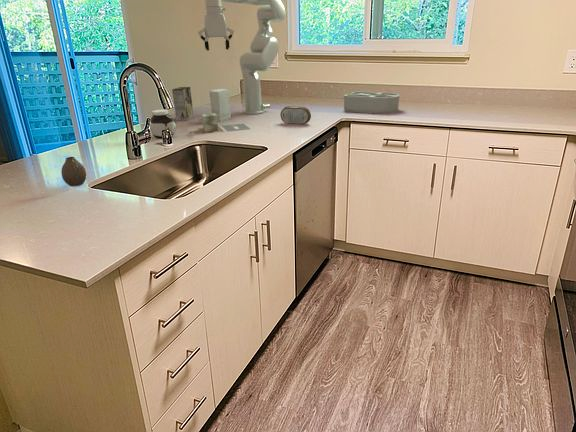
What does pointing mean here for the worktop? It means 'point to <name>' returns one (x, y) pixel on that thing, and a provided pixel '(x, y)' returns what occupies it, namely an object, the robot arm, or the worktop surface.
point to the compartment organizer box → (371, 102)
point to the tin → (295, 115)
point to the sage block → (210, 122)
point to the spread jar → (161, 123)
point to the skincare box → (220, 104)
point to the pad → (210, 131)
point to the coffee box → (183, 103)
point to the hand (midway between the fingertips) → (217, 49)
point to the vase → (73, 172)
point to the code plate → (235, 127)
